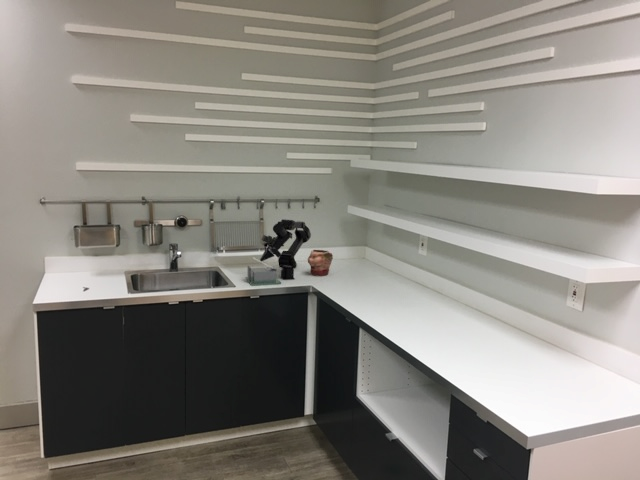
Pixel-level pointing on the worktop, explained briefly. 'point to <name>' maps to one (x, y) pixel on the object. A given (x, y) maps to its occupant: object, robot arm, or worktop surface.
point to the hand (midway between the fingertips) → (260, 260)
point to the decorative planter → (320, 262)
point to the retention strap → (264, 263)
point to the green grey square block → (262, 276)
